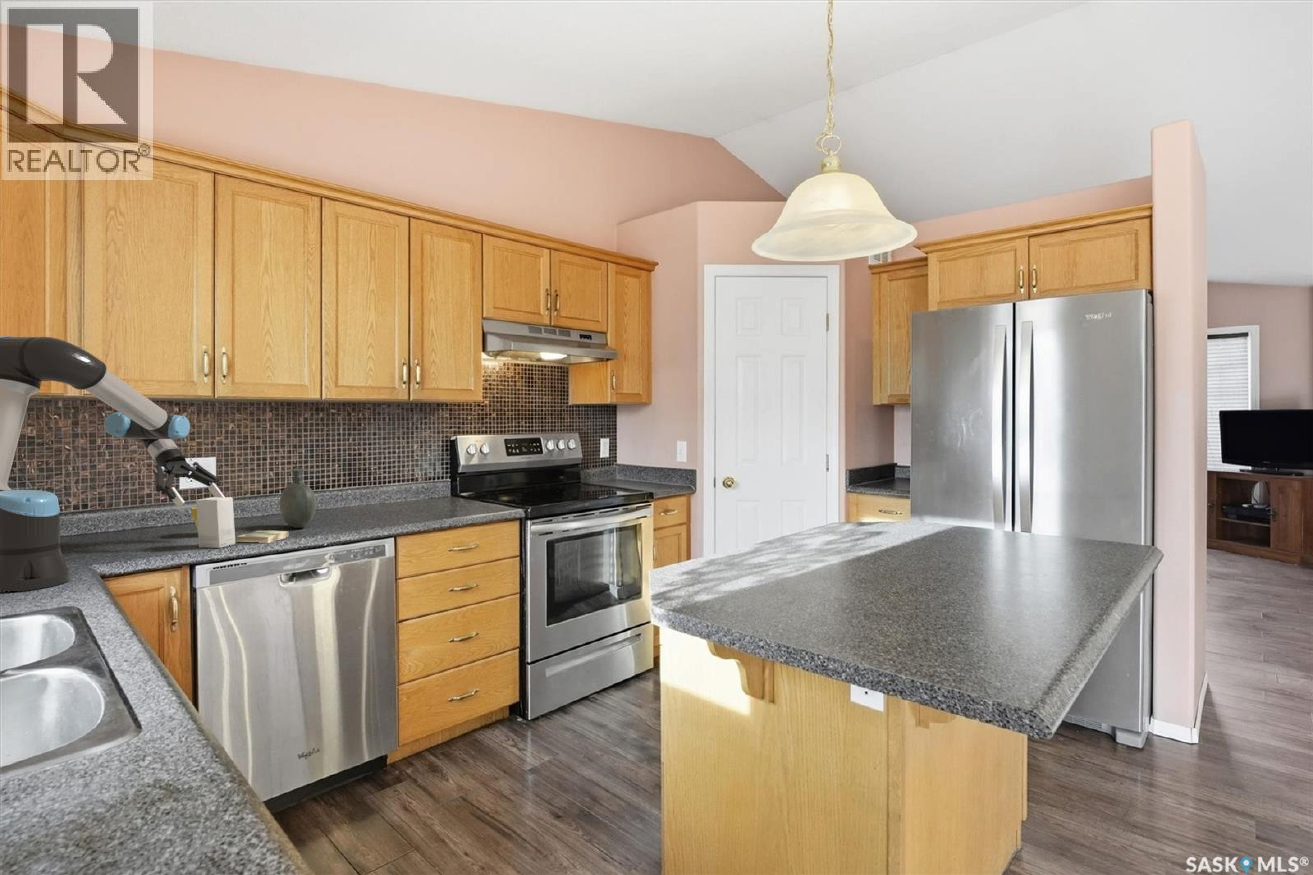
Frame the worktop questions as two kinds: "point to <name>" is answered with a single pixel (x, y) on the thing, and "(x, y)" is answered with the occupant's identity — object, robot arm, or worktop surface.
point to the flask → (297, 502)
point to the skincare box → (215, 522)
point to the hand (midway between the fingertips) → (202, 502)
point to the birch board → (262, 536)
